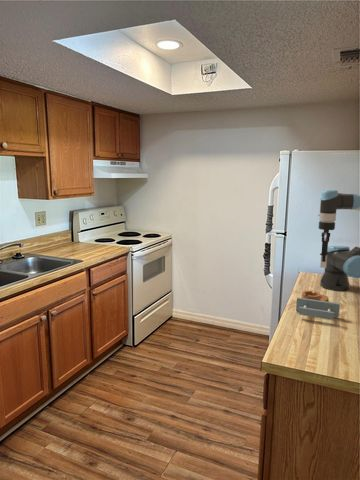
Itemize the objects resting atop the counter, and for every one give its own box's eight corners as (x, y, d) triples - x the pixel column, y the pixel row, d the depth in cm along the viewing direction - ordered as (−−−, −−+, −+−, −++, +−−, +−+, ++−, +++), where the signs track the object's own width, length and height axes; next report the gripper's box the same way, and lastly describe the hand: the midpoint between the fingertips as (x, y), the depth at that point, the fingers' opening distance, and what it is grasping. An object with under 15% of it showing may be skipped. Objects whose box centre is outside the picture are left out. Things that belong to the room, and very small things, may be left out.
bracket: (314, 312, 166) (315, 297, 165) (297, 307, 172) (298, 293, 170) (331, 302, 179) (332, 288, 177) (314, 298, 184) (315, 285, 183)
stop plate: (296, 309, 167) (297, 297, 166) (338, 316, 160) (339, 303, 158) (293, 316, 159) (294, 303, 158) (338, 324, 152) (339, 310, 150)
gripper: (320, 219, 186) (316, 263, 191) (318, 222, 175) (314, 269, 179) (335, 220, 183) (331, 265, 188) (334, 223, 172) (330, 271, 176)
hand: (323, 267), depth 184 cm, fingers closed
